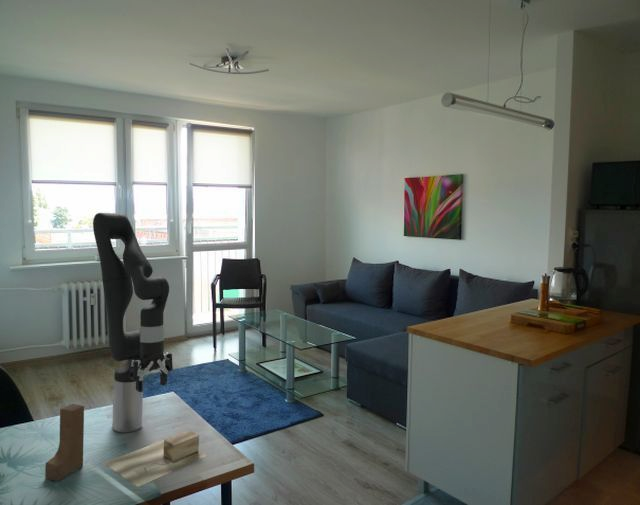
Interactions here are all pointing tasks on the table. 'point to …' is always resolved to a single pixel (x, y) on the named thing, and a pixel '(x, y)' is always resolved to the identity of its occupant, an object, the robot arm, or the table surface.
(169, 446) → the block
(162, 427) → the table surface
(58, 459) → the wooden block
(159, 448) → the board
